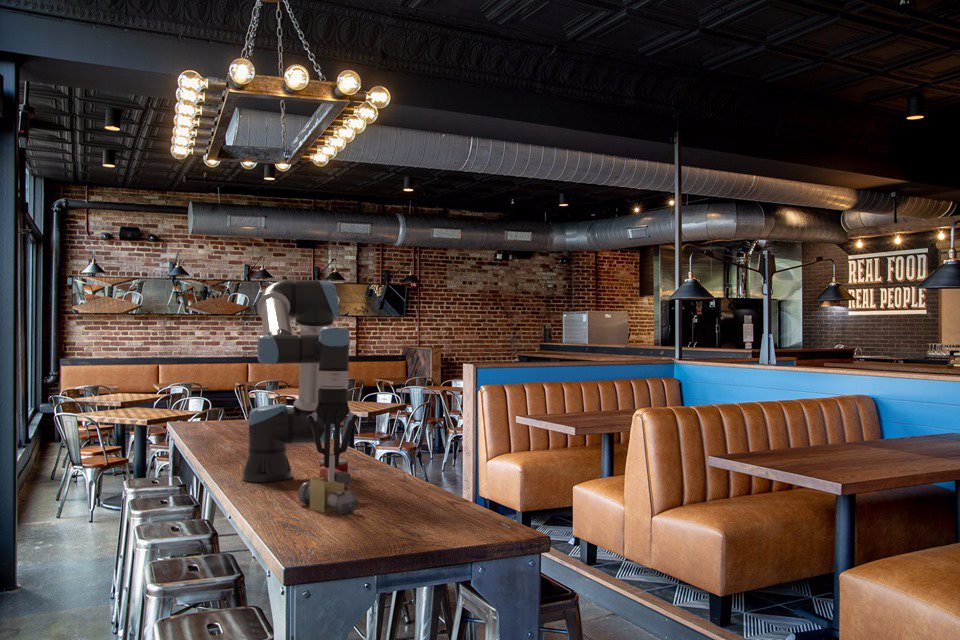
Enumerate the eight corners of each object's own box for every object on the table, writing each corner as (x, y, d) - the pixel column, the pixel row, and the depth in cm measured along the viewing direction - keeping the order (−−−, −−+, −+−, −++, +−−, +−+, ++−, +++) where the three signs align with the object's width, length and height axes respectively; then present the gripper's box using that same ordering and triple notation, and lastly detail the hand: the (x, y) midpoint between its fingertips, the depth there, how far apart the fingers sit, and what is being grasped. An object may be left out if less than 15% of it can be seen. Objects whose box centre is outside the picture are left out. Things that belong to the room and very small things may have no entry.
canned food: (334, 504, 202) (334, 463, 203) (313, 500, 207) (313, 461, 207) (353, 498, 209) (353, 459, 209) (332, 495, 213) (332, 457, 213)
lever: (317, 474, 197) (317, 467, 197) (331, 473, 199) (331, 465, 199) (337, 483, 185) (337, 475, 185) (352, 481, 188) (352, 473, 188)
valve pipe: (297, 505, 200) (297, 473, 201) (316, 501, 205) (317, 470, 205) (338, 517, 188) (338, 482, 188) (358, 512, 193) (358, 479, 193)
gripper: (308, 388, 183) (306, 484, 183) (360, 388, 188) (358, 482, 187) (306, 386, 191) (303, 478, 190) (356, 386, 195) (353, 476, 194)
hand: (331, 480), depth 188 cm, fingers closed
